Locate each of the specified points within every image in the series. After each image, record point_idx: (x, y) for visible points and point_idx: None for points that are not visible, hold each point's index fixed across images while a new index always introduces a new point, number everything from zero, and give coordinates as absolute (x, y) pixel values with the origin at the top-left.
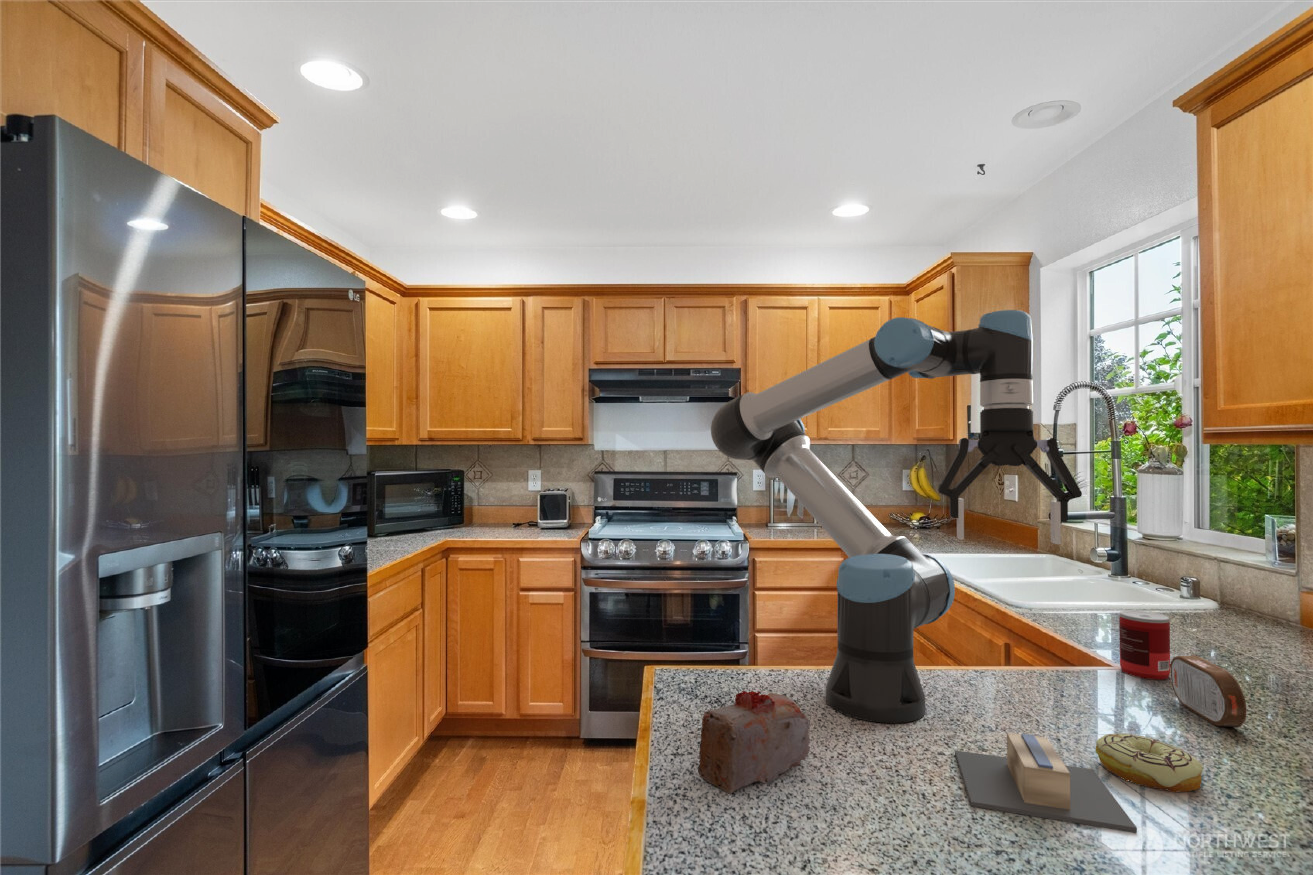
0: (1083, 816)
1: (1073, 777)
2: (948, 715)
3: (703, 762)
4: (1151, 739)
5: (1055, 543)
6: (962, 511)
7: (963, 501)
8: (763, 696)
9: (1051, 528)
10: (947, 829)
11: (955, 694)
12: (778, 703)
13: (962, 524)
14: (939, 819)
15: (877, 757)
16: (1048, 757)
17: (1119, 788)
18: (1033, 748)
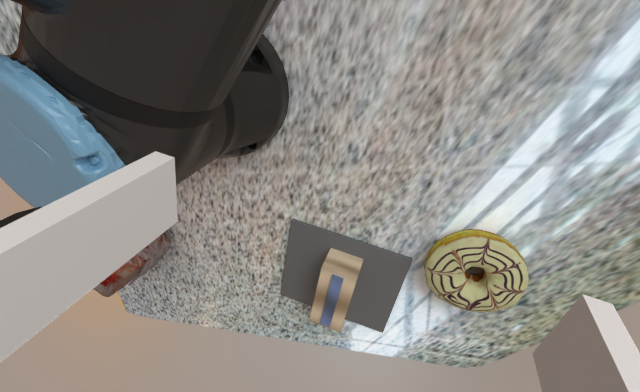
0: (352, 317)
1: (380, 272)
2: (316, 115)
3: None
4: (501, 266)
5: (533, 356)
6: (62, 305)
7: (1, 358)
8: (104, 280)
9: (600, 376)
10: (260, 310)
11: (357, 12)
12: (119, 269)
13: (122, 258)
14: (258, 301)
15: (225, 222)
16: (336, 310)
17: (418, 282)
18: (328, 301)
